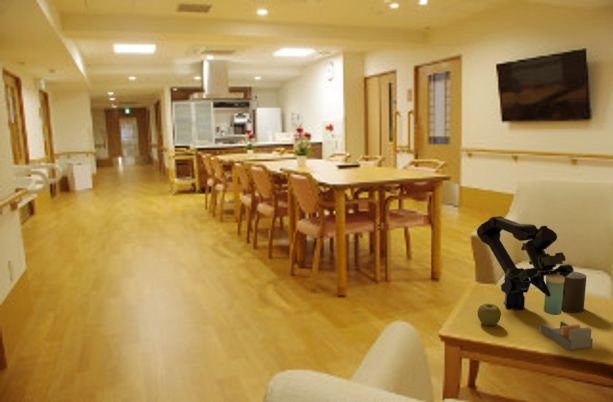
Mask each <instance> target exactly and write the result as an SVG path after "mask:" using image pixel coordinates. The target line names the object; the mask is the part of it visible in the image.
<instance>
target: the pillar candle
mask: <svg viewBox="0 0 613 402" xmlns="http://www.w3.org/2000/svg"><path fill="white" fill-rule="evenodd" d="M564 286H565V294H564V295H563V299H562V310H561V311H563V312H567V313H578V314H579V313H581V312H584V310H585V300H586V299H585V298H586V297H585V296H586V287H587V275H586V274H584V273H582V272H580V271H576V270H574V271H573V272H572V273H570V274H569V275H568V276H566V277H565V281H564Z"/></svg>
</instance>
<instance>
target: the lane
mask: <svg viewBox="0 0 613 402" xmlns="http://www.w3.org/2000/svg"><path fill="white" fill-rule="evenodd" d="M559 325H560V327H559V328H551V327H549V326H547V325H546V324H544V323H540V329H539V330H540V333H541V334H543V335H544V336H545V337H547V338H549V339H551V340H552V341H554V342H555V343H557V345H558V344H559V346H561V347H562V348H564V349H565V350H567V351H569V352H570V351H577V350H584V349H585V350H586V349H592V348H593V341H594V339H593V338H592V328H590V327H587V326H586V327H580V328H579V329H571V330H569V339H566V338H565V337H563V336H562V335H561V326H568V325H569V324H568V323H566V322H565V321H563V320H562V321H560V324H559Z"/></svg>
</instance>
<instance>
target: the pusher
mask: <svg viewBox="0 0 613 402" xmlns="http://www.w3.org/2000/svg"><path fill="white" fill-rule="evenodd" d="M579 328H581V325H580V324H572V325H571V324H570V325H569V324H568V326H561V335H562V336H563V337H565V338H566V339H569V330H571V329H579Z"/></svg>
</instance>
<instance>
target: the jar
mask: <svg viewBox="0 0 613 402" xmlns="http://www.w3.org/2000/svg"><path fill="white" fill-rule="evenodd" d="M564 281H565V277H564V276H562V275H558V274H547V275H546V276H545V284H546V286H547V288H548V290H549V292H550V296H549V297H548V296H546V295H545V294H544V304H543V312H544V313H546V314H548V315H551V316H560V315H561V314H562V311H563V310H562V299H563V287H564Z"/></svg>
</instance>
